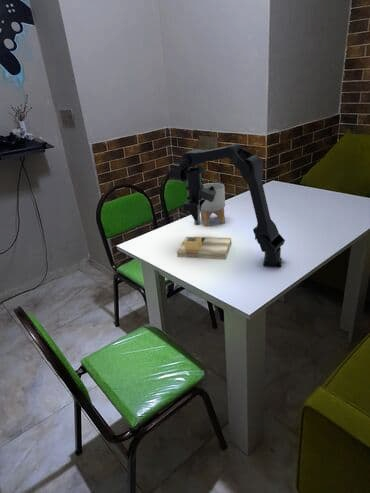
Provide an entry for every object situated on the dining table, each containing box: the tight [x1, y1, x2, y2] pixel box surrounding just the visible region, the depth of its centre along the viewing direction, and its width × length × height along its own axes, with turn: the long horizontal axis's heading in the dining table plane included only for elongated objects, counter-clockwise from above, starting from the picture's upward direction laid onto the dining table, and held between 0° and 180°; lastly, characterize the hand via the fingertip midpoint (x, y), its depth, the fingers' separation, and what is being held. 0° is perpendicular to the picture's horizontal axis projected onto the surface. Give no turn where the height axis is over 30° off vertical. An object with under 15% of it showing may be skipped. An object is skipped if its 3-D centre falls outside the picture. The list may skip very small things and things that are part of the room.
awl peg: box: [193, 209, 202, 226], centre depth 143 cm, size 3×3×8 cm
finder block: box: [184, 236, 202, 250], centre depth 141 cm, size 5×6×4 cm
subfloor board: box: [176, 236, 232, 260], centre depth 144 cm, size 14×20×2 cm
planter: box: [200, 182, 226, 227], centre depth 167 cm, size 13×13×18 cm
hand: (197, 219), depth 144 cm, fingers closed on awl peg, 3 cm apart
